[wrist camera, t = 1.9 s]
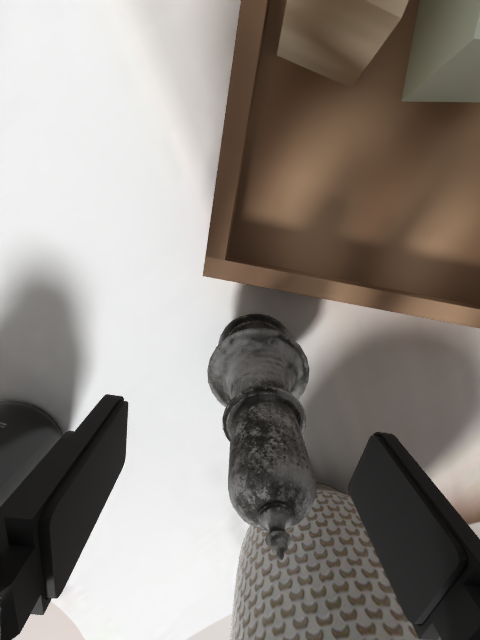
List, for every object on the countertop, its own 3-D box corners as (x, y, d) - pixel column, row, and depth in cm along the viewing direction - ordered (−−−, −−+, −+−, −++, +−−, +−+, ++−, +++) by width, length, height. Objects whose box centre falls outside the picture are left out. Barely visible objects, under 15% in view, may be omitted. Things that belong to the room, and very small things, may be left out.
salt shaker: (292, 304, 16) (412, 454, 5) (298, 379, 18) (396, 617, 7) (207, 316, 17) (130, 483, 5) (221, 389, 18) (188, 632, 7)
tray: (669, 16, 12) (808, -57, 9) (497, 324, 17) (551, 341, 14) (263, -96, 11) (271, -220, 8) (210, 269, 16) (202, 276, 13)
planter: (295, 574, 25) (346, 886, 13) (200, 505, 22) (150, 832, 10) (411, 511, 22) (619, 842, 10) (320, 422, 19) (460, 745, 7)
